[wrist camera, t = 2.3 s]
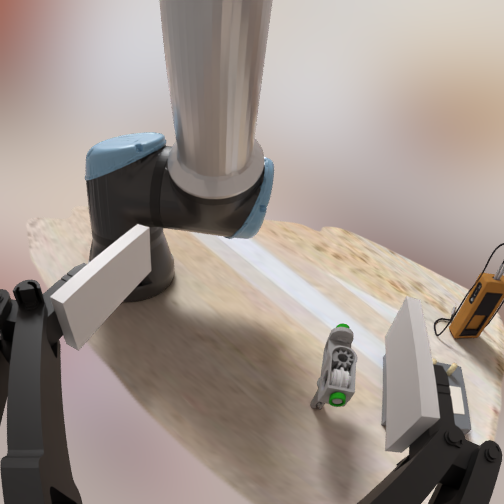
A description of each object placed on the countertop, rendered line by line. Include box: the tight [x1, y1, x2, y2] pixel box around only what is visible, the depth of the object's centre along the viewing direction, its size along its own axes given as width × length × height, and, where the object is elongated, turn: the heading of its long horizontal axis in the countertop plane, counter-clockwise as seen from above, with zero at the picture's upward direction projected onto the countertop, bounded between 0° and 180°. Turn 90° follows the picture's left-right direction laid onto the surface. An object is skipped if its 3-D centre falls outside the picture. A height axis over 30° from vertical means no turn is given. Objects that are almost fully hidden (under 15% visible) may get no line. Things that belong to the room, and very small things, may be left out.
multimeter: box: [434, 243, 504, 338], centre depth 46 cm, size 15×10×20 cm
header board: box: [382, 354, 471, 435], centre depth 36 cm, size 14×12×4 cm
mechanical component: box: [310, 324, 357, 409], centre depth 33 cm, size 3×10×10 cm, turn 166°
